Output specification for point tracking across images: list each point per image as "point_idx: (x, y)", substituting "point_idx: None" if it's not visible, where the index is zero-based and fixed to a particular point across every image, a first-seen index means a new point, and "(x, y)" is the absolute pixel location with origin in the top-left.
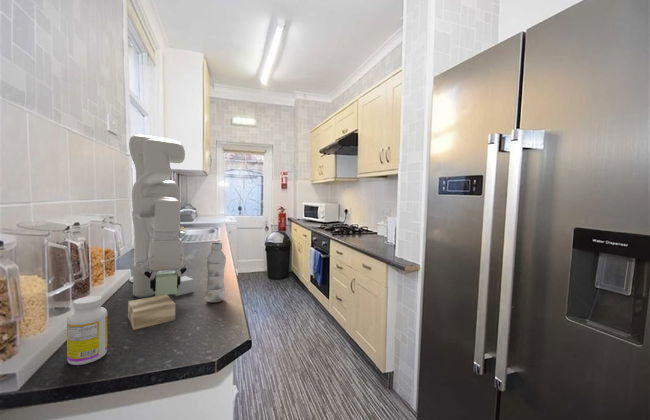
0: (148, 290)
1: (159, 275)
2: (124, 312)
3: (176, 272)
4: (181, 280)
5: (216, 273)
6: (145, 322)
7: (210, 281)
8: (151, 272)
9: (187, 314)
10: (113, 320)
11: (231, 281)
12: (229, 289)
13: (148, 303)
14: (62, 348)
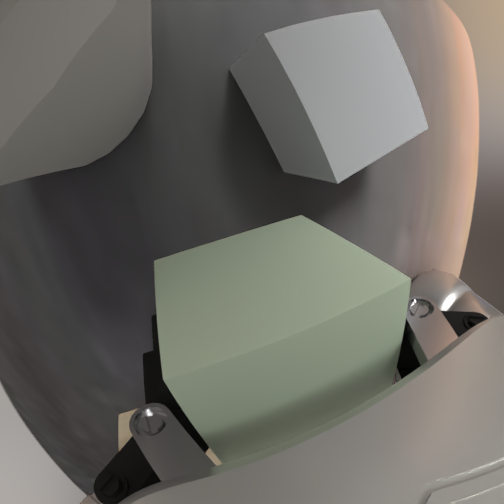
0: (92, 158)
1: (251, 442)
2: (76, 374)
3: (409, 336)
4: (367, 130)
5: None
6: None
7: None
8: (163, 470)
9: None
10: (86, 425)
11: (472, 61)
12: (468, 164)
13: None
14: (83, 491)
